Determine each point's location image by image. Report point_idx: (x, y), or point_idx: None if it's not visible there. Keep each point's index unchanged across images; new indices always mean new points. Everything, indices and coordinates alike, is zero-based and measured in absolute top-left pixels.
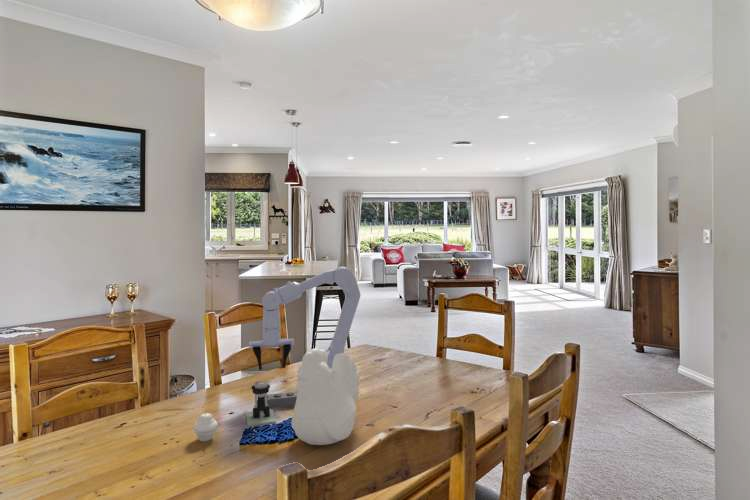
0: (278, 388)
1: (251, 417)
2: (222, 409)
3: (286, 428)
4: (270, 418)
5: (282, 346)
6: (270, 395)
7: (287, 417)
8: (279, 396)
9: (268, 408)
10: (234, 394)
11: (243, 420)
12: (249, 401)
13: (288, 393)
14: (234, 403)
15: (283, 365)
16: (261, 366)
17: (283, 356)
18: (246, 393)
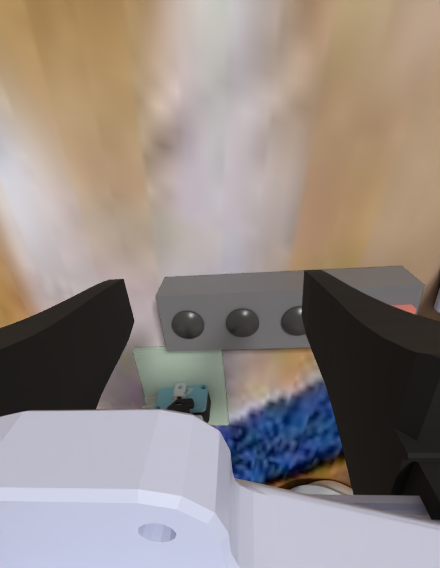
0: (268, 28)
1: (157, 392)
2: (38, 289)
3: (252, 448)
4: (213, 409)
5: (402, 402)
6: (212, 309)
7: (264, 397)
8: (250, 335)
9: (205, 421)
10: (17, 91)
11: (136, 386)
12: (123, 227)
13: (293, 313)
14: (63, 236)
15: (308, 333)
16: (125, 345)
17: (334, 385)
18: (81, 89)
